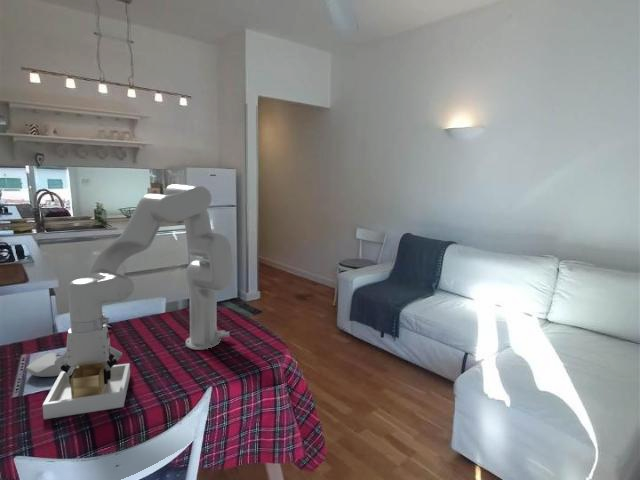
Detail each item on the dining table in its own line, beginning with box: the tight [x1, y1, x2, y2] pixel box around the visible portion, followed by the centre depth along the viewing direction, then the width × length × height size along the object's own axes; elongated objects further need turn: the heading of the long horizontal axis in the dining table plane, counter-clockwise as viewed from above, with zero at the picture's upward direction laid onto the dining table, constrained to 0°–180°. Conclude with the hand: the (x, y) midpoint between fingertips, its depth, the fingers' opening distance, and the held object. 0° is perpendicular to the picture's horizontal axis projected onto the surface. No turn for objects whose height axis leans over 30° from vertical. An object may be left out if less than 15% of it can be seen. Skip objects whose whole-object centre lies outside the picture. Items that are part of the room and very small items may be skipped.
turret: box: [25, 352, 77, 378], centre depth 120 cm, size 10×20×5 cm, turn 130°
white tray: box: [42, 363, 131, 420], centre depth 107 cm, size 18×17×4 cm
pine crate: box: [70, 363, 106, 399], centre depth 106 cm, size 7×11×6 cm, turn 21°
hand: (91, 383), depth 106 cm, fingers closed on pine crate, 7 cm apart
